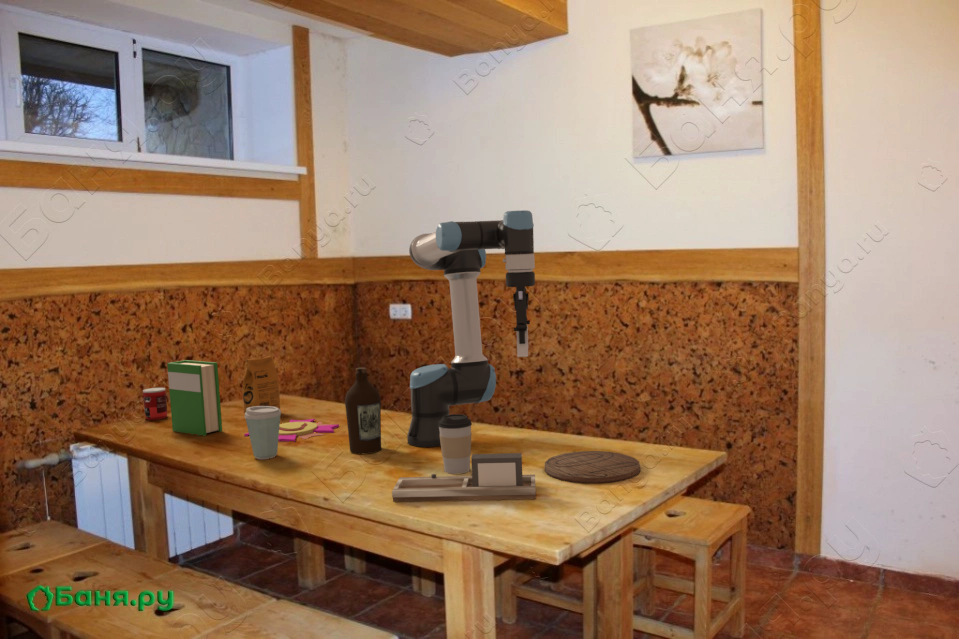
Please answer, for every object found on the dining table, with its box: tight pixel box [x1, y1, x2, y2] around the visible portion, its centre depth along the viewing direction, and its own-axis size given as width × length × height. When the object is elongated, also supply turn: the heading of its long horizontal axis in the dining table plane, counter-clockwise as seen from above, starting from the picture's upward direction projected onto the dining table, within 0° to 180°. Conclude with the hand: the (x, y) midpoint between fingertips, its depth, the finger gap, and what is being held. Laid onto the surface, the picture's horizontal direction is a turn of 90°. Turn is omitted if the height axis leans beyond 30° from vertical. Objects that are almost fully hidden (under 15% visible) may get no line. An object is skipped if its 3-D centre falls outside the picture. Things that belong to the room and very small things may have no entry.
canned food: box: [142, 387, 168, 421], centre depth 294 cm, size 8×8×11 cm
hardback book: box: [166, 359, 223, 437], centre depth 268 cm, size 18×7×24 cm, turn 56°
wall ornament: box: [243, 418, 340, 443], centre depth 262 cm, size 30×2×30 cm
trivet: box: [544, 450, 641, 485], centre depth 204 cm, size 25×25×2 cm
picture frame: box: [470, 452, 523, 487], centre depth 187 cm, size 4×12×8 cm, turn 86°
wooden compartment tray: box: [391, 473, 537, 503], centre depth 188 cm, size 11×34×4 cm, turn 86°
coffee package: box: [241, 355, 281, 415], centre depth 290 cm, size 10×12×22 cm
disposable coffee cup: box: [244, 406, 282, 460], centre depth 230 cm, size 11×11×15 cm
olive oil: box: [344, 366, 382, 455], centre depth 232 cm, size 11×11×25 cm
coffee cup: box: [438, 413, 473, 475], centre depth 208 cm, size 9×9×15 cm
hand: (523, 352), depth 201 cm, fingers open, 13 cm apart
